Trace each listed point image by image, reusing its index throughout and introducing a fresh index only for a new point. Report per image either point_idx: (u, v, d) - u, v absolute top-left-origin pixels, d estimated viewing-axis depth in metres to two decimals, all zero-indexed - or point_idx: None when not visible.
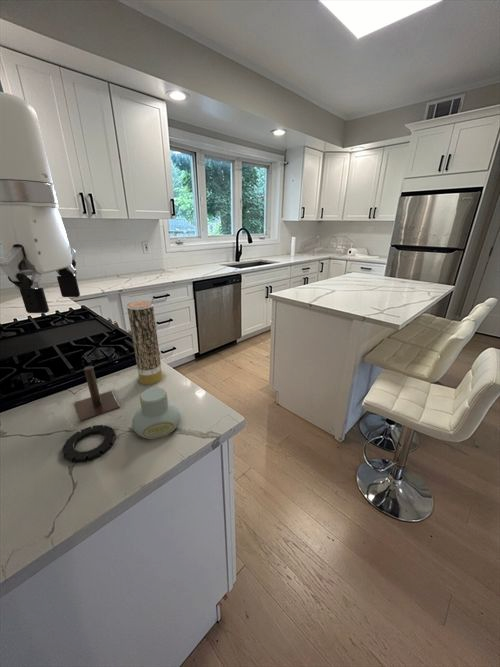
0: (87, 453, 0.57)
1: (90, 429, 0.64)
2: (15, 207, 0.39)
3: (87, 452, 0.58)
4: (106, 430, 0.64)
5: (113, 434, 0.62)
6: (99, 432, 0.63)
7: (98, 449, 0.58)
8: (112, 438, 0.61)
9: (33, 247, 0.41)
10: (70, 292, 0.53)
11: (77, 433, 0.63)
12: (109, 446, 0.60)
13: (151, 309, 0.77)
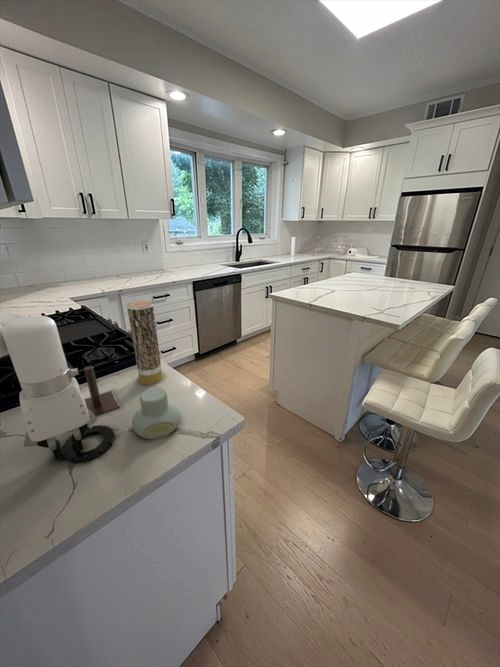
0: (86, 453, 0.57)
1: (89, 429, 0.64)
2: (20, 399, 0.50)
3: (86, 452, 0.57)
4: (105, 430, 0.63)
5: (112, 434, 0.62)
6: (98, 432, 0.63)
7: (97, 449, 0.58)
8: (111, 438, 0.61)
9: (27, 427, 0.51)
10: None
11: None
12: (108, 446, 0.59)
13: (151, 309, 0.77)
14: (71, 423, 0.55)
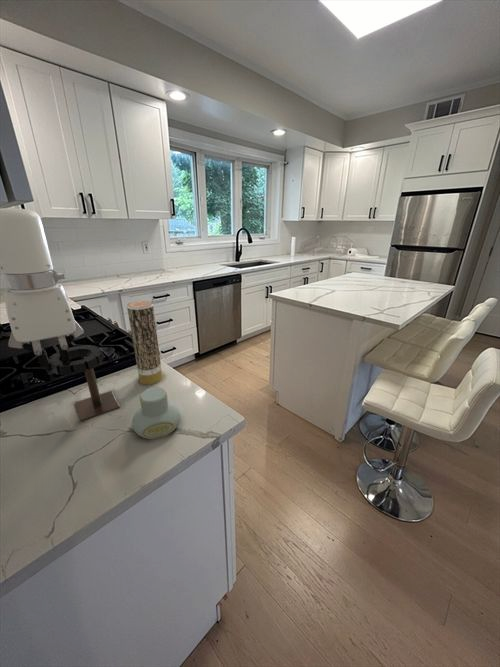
0: (72, 363, 0.57)
1: (77, 348, 0.63)
2: (4, 293, 0.49)
3: (72, 362, 0.57)
4: (93, 348, 0.63)
5: (100, 351, 0.62)
6: (86, 350, 0.63)
7: (83, 360, 0.58)
8: (98, 354, 0.61)
9: (11, 324, 0.50)
10: None
11: None
12: (95, 359, 0.59)
13: (151, 309, 0.77)
14: (56, 328, 0.55)
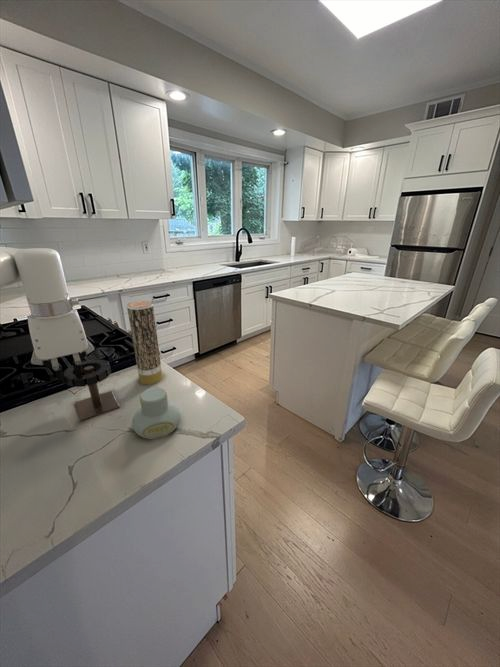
0: (85, 376, 0.66)
1: (88, 362, 0.72)
2: (29, 319, 0.58)
3: (85, 375, 0.66)
4: (102, 362, 0.72)
5: (108, 365, 0.71)
6: (96, 364, 0.72)
7: (94, 374, 0.67)
8: (107, 367, 0.70)
9: (34, 344, 0.59)
10: None
11: None
12: (104, 372, 0.68)
13: (151, 309, 0.77)
14: (72, 347, 0.63)
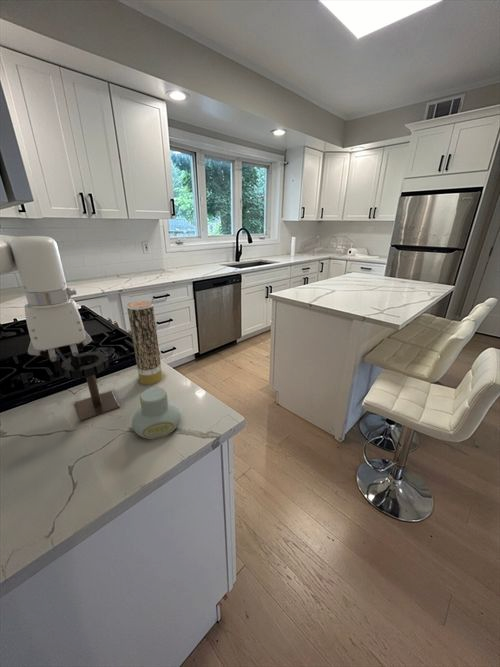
0: (82, 367, 0.65)
1: (85, 354, 0.71)
2: (25, 308, 0.57)
3: (82, 367, 0.65)
4: (100, 354, 0.71)
5: (106, 357, 0.70)
6: (93, 356, 0.71)
7: (92, 365, 0.66)
8: (105, 359, 0.69)
9: (31, 334, 0.58)
10: None
11: None
12: (102, 364, 0.67)
13: (151, 309, 0.77)
14: (69, 337, 0.62)
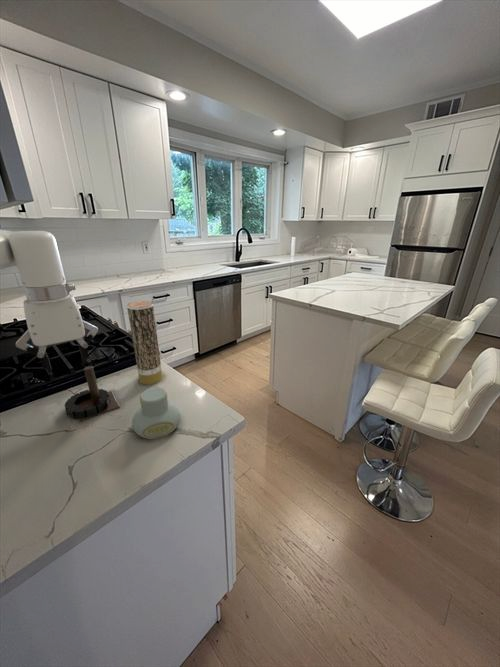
0: (85, 408, 0.68)
1: (88, 391, 0.75)
2: (24, 303, 0.57)
3: (85, 407, 0.69)
4: (101, 392, 0.75)
5: (107, 395, 0.74)
6: None
7: (94, 405, 0.70)
8: (106, 398, 0.72)
9: (30, 330, 0.58)
10: (82, 358, 0.67)
11: (77, 394, 0.74)
12: (104, 403, 0.71)
13: (151, 309, 0.77)
14: (69, 333, 0.62)
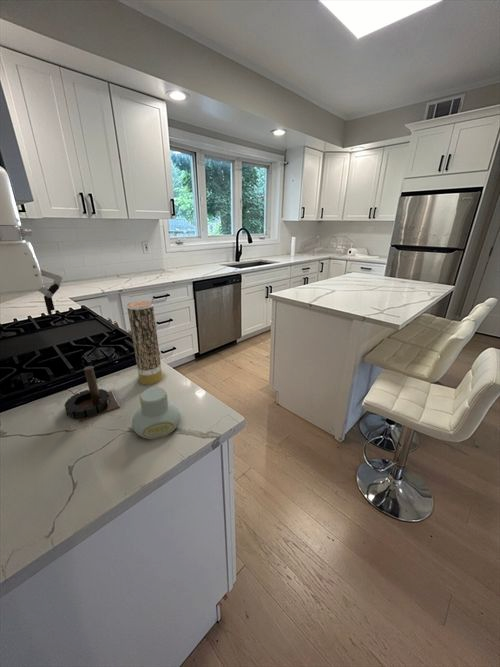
0: (85, 408, 0.68)
1: (88, 391, 0.75)
2: None
3: (85, 407, 0.69)
4: (101, 392, 0.75)
5: (107, 395, 0.74)
6: None
7: (94, 405, 0.70)
8: (106, 398, 0.72)
9: None
10: (47, 310, 0.63)
11: (77, 394, 0.74)
12: (104, 403, 0.71)
13: (151, 309, 0.77)
14: (24, 282, 0.57)
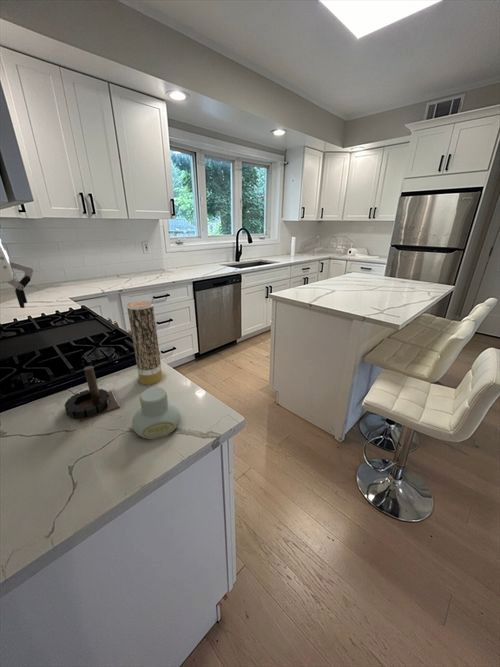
0: (85, 408, 0.68)
1: (88, 391, 0.75)
2: None
3: (85, 407, 0.69)
4: (101, 392, 0.75)
5: (107, 395, 0.74)
6: None
7: (94, 405, 0.70)
8: (106, 398, 0.72)
9: None
10: (19, 303, 0.62)
11: (77, 394, 0.74)
12: (104, 403, 0.71)
13: (151, 309, 0.77)
14: None
